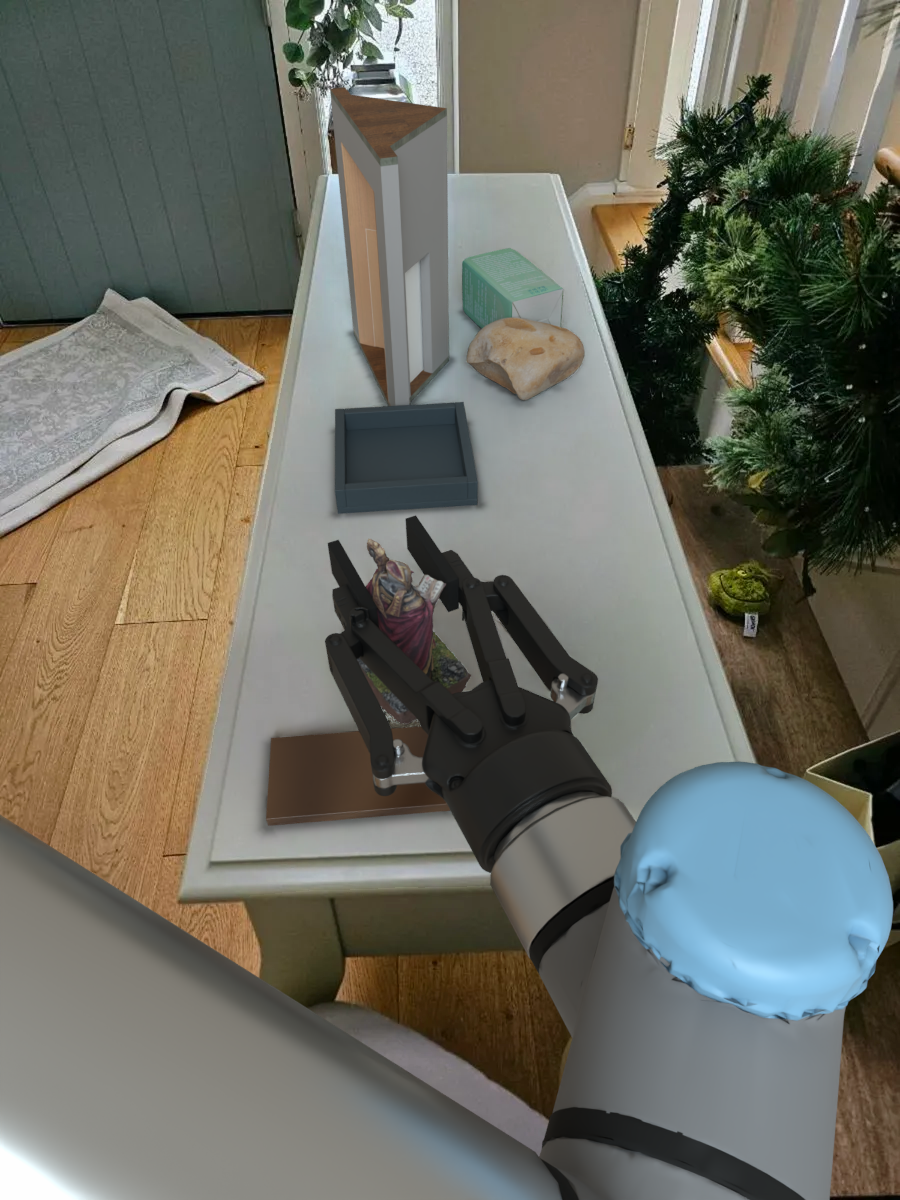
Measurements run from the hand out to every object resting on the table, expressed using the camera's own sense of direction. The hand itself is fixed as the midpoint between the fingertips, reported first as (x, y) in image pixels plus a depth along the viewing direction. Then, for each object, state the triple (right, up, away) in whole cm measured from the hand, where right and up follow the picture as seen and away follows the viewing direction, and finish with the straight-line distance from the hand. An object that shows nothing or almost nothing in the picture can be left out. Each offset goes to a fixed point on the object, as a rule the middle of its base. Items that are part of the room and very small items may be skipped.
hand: (374, 544), depth 56 cm
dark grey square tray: (0, +10, +34) cm, 36 cm away
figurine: (+2, -9, +2) cm, 9 cm away
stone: (+14, +22, +46) cm, 53 cm away
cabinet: (0, +24, +48) cm, 53 cm away
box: (+13, +32, +55) cm, 64 cm away
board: (+2, -17, +8) cm, 19 cm away
